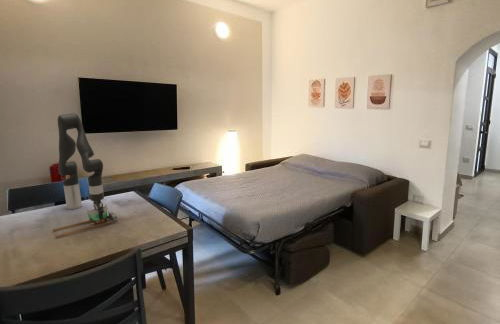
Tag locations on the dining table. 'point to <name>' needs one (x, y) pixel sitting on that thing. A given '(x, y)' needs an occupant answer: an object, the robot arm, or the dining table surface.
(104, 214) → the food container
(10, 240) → the dining table surface
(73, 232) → the guide channel
